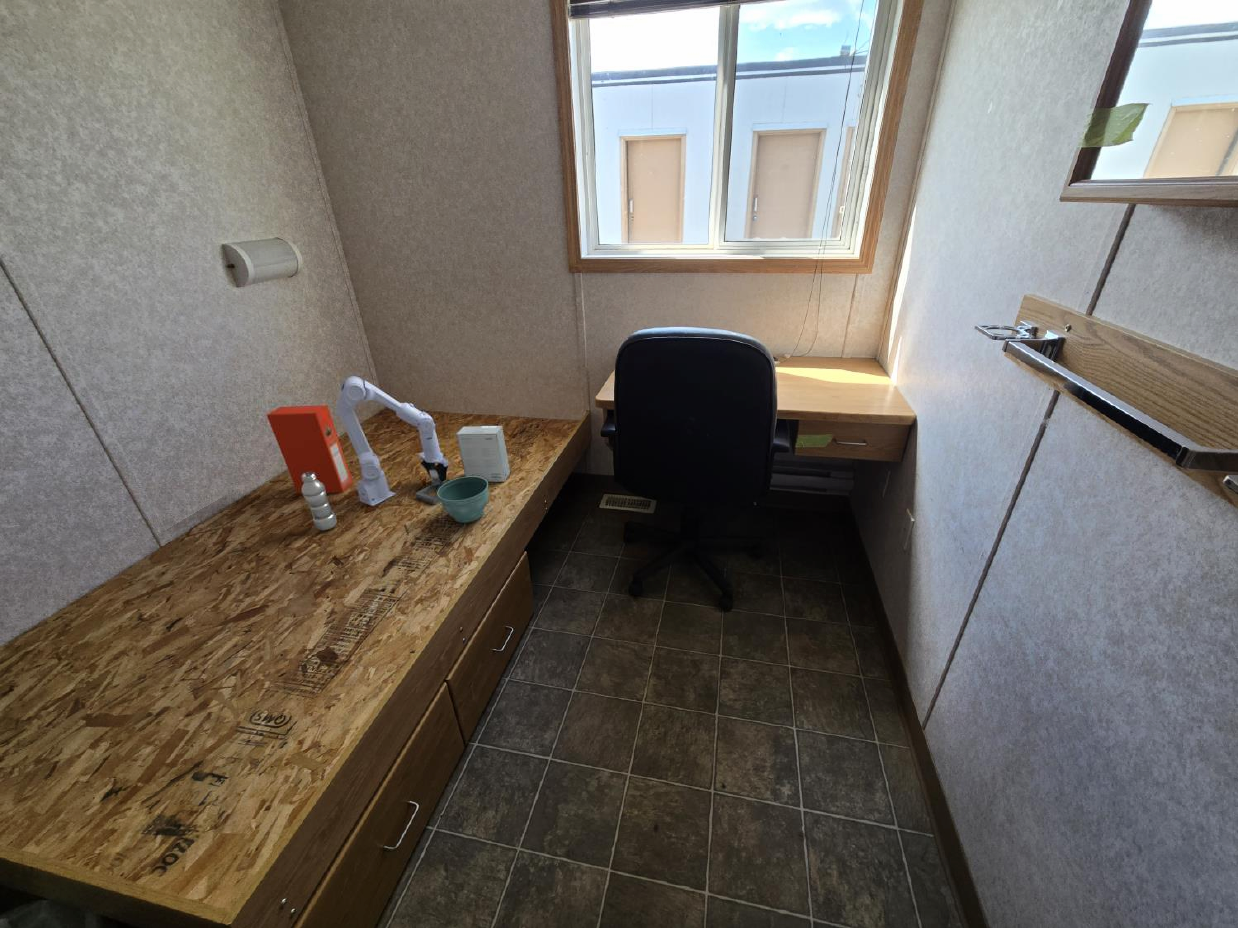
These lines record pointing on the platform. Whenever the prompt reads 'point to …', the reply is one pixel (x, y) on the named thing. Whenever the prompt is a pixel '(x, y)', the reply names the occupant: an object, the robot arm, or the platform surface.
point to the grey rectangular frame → (424, 492)
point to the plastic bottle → (318, 502)
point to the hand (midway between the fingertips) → (438, 478)
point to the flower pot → (464, 498)
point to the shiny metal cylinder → (435, 476)
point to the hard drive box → (484, 452)
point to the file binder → (311, 446)
